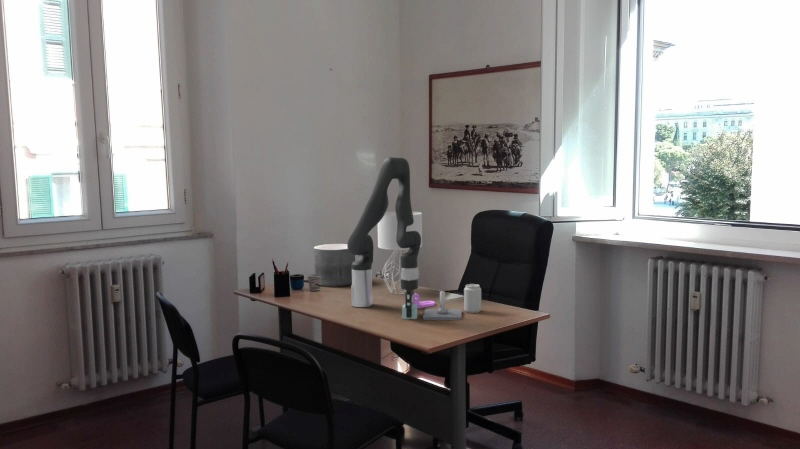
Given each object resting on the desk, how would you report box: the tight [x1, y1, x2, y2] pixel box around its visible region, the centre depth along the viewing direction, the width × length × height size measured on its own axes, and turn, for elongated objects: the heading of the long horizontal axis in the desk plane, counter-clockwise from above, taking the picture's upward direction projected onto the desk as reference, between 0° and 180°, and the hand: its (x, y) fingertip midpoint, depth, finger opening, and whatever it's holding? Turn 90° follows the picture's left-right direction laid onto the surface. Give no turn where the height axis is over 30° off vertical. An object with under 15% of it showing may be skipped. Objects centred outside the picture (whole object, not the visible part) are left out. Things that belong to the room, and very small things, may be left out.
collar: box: [401, 303, 418, 320], centre depth 282 cm, size 6×6×5 cm
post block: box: [422, 290, 462, 321], centre depth 283 cm, size 16×14×10 cm
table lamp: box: [377, 211, 423, 295], centre depth 332 cm, size 22×22×40 cm
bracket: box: [413, 292, 436, 309], centre depth 302 cm, size 13×6×7 cm, turn 117°
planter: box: [313, 243, 356, 288], centre depth 357 cm, size 22×22×20 cm
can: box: [463, 283, 482, 314], centre depth 290 cm, size 8×8×12 cm
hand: (409, 314), depth 282 cm, fingers open, 7 cm apart
